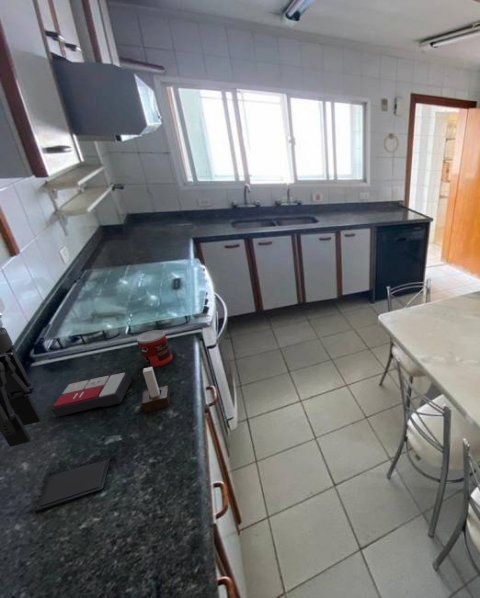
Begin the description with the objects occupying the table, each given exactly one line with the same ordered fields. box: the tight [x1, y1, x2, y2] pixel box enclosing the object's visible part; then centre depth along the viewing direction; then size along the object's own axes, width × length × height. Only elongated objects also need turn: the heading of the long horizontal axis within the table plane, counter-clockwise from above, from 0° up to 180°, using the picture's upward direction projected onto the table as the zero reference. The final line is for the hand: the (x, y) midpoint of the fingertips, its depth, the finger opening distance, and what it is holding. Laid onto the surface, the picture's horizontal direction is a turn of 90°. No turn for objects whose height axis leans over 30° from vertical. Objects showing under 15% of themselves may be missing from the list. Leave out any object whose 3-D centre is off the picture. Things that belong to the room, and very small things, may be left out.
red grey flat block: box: [51, 371, 132, 418], centre depth 98 cm, size 11×4×15 cm
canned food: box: [136, 329, 173, 369], centre depth 114 cm, size 8×8×11 cm
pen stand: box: [141, 385, 171, 414], centre depth 98 cm, size 6×6×4 cm
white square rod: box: [142, 367, 161, 398], centre depth 96 cm, size 2×2×13 cm
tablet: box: [34, 457, 111, 514], centre depth 75 cm, size 11×9×1 cm
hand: (26, 432), depth 67 cm, fingers open, 5 cm apart
